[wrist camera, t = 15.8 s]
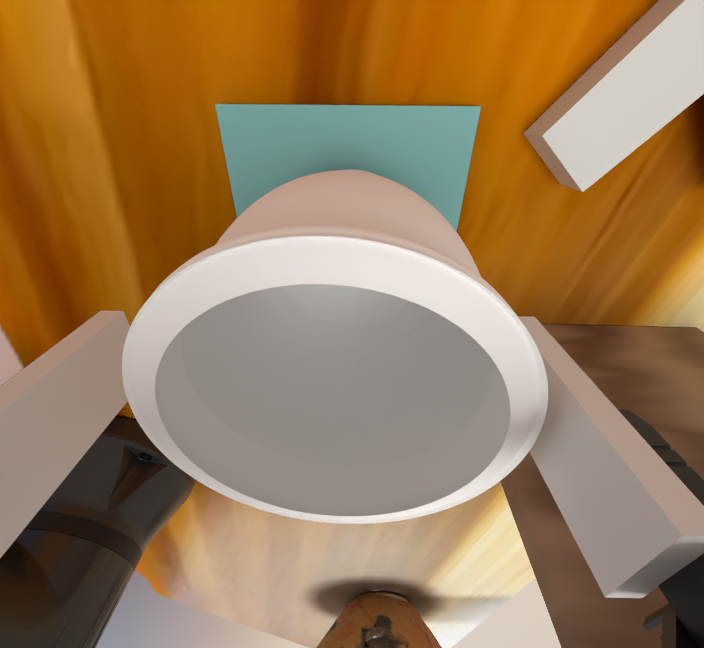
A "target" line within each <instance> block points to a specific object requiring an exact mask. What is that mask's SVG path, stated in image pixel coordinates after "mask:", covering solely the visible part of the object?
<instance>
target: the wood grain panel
mask: <svg viewBox="0 0 704 648" xmlns="http://www.w3.org/2000/svg"><path fill="white" fill-rule="evenodd" d="M541 325H542V326H543V327H544V328H545V329H546V330H547V331H548V332H549V333H550V335H551V336H552V337H553V338H554V339H555V340H556V341H557V342H558V344H559V345H560V346H561V347H562V348H563V349H564V350H565V351H566V353H567V354H568V355H569V356H570V357H571V358H572V359H573V360H574V361H575V363H576V364H577V365H578V366H579V367H580V368H581V369H582V370H583V372H584V373H585V374H586V375H587V376H588V377H589V378H590V379H591V380H592V382H593V383H594V384H595V385H596V386H597V387H598V388H599V389H600V391H601V392H602V393H603V394H604V395H605V396H606V397H607V398H608V399H609V401H610V402H611V403H612V404H613V405H614V406H615V407H616V408H617V410H629V411H631V412H632V413H634V414H635V415H637V416H638V417H639V418H641V419H642V420H644V421H645V422H647V423H648V424H649V425H651V426H652V427H653V428H654V429H655V430H656V431H657V432H658V433H659V434H660V435H661V436H662V437H663V438H664V439H665V440H666V441H667V442H668V444H669V445H670V448H671V449H672V450H675V451H676V452H677V453H678V454H679V455H680V456H681V457H682V458H683V459H684V460H685V461H686V462H687V463H686V464H687V466H688V467H691V468H692V469H693V470H694V471H695V472H696V473H697V474H698V475H699V476H700V477H701V478H702V479H703V480H704V332H702V331H701V330H699V329H698V328H683V327H644V326H605V325H566V324H541ZM501 484H502V487H503V489H504V492H505V495H506V498H507V500H508V503H509V506H510V508H511V511H512V514H513V517H514V519H515V522H516V525H517V528H518V530H519V533H520V536H521V538H522V541H523V544H524V547H525V549H526V552H527V555H528V557H529V560H530V563H531V566H532V568H533V571H534V574H535V576H536V579H537V582H538V584H539V587H540V590H541V593H542V595H543V598H544V601H545V604H546V606H547V609H548V612H549V615H550V617H551V620H552V623H553V625H554V628H555V631H556V634H557V636H558V639H559V642H560V644H561V647H562V648H662V640H661V639H660V636H661V635H662V624H661V625H659V626H658V627H656V628H654V629H652V630H651V631H648V630H647V629H646V628H644V627H643V624H644V621H645V619H646V617H647V616H649V615H650V614H652V613H654V612H655V611H657V610H658V609H660V608H662V607H663V606H665V605H666V604H668V603H669V602H668V601H667V599H666V598H665V596H664V595H663V593H662V591H661V590H660V588H659V587H657V588H656V589H655V590H653V591H652V592H650V593H649V594H647V595H646V596H644V597H643V598H607V597H605V596H604V595H603V593H602V591H601V589H600V587H599V585H598V583H597V581H596V579H595V577H594V575H593V573H592V571H591V569H590V568H589V566H588V564H587V562H586V560H585V558H584V556H583V554H582V552H581V550H580V548H579V546H578V544H577V542H576V540H575V539H574V537H573V535H572V533H571V531H570V529H569V527H568V525H567V523H566V521H565V519H564V517H563V515H562V513H561V511H560V510H559V508H558V506H557V504H556V502H555V500H554V498H553V496H552V494H551V492H550V490H549V488H548V486H547V484H546V482H545V481H544V479H543V477H542V475H541V473H540V471H539V469H538V467H537V465H536V463H535V461H534V459H533V457H532V455H531V454H530V452H528V453H527V455H526V456H525V457H524V459H523V460H522V461H521V462H520V463H519V464H518V465H517V466H516V467H515V468H514V469H513V470H512V471H511V472H510V473H509V474H508V475H507V476H506V477H504V478H503V479H502V480H501Z"/></svg>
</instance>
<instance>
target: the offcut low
mask: <svg viewBox="0 0 704 648" xmlns="http://www.w3.org/2000/svg"><path fill="white" fill-rule="evenodd" d="M703 94H704V0H659V1H658V2H657V3H656V4H655V5H654V6H653V7H651V8H650V9H649V10H648V11H647V12H646V13H645V14H644V15H643V16H642V17H641V18H640V19H639V20H638V21H637V22H636V23H635V24H634V25H633V26H632V27H631V28H630V29H629V30H628V31H627V32H626V33H625V34H624V35H623V36H622V37H621V38H620V39H619V40H618V41H617V42H616V43H615V44H614V45H613V46H612V47H611V48H610V49H609V50H608V51H607V52H606V53H605V54H604V55H603V56H602V57H601V58H600V59H598V60H597V61H596V62H595V63H594V64H593V65H592V66H591V67H590V68H589V69H588V70H587V71H586V72H585V73H584V74H583V75H582V76H581V77H580V78H579V79H578V80H577V81H576V82H575V83H574V84H573V85H572V86H571V87H570V88H569V89H568V90H567V91H566V92H565V93H564V94H563V95H562V96H561V97H560V98H559V99H558V100H557V101H556V102H555V103H554V104H553V105H552V106H551V107H550V108H549V109H548V110H547V111H546V112H544V113H543V114H542V115H541V116H540V117H539V118H538V119H537V120H536V121H535V122H534V123H533V124H532V125H531V126H530V127H529V128H528V129H527V130H526V131H525V132H524V133H523V134H524V136H525V137H526V138H527V140H528V141H529V142H530V144H531V145H532V146H533V148H534V149H535V151H536V152H537V153H538V155H539V156H540V157H541V159H542V160H543V161H544V163H545V164H546V166H547V167H548V168H549V170H550V171H551V172H552V174H553V175H554V176H555V178H556V179H557V180H558V182H559V183H560V184H561V185H564V186H566V187H569V188H572V189H575V190H578V191H580V192H584V191H585V190H586V189H587V188H589V187H590V186H591V185H592V184H593V183H595V182H596V181H597V180H598V179H600V178H601V177H602V176H603V175H605V174H606V173H607V172H608V171H609V170H611V169H612V168H613V167H614V166H616V165H617V164H618V163H619V162H621V161H622V160H623V159H624V158H625V157H627V156H628V155H629V154H630V153H632V152H633V151H634V150H635V149H637V148H638V147H639V146H640V145H641V144H643V143H644V142H645V141H646V140H648V139H649V138H650V137H651V136H652V135H654V134H655V133H656V132H657V131H659V130H660V129H661V128H662V127H664V126H665V125H666V124H667V123H668V122H670V121H671V120H672V119H673V118H675V117H676V116H677V115H678V114H680V113H681V112H682V111H683V110H684V109H686V108H687V107H688V106H689V105H691V104H692V103H693V102H694V101H695V100H697V99H698V98H699V97H700V96H702V95H703Z"/></svg>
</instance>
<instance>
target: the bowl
mask: <svg viewBox="0 0 704 648" xmlns="http://www.w3.org/2000/svg"><path fill="white" fill-rule="evenodd" d="M317 648H441V646H440V645H439V643H438V641H437V640H436V638H435V637H434V635H433V634H432V632H431V630H430V629H429V628H428V627H427V625H426V624H425V623H424V621H423V620H422V619H421V617H420V616H419V613H418V612H417V610H416V609H415V608H414V607H413V606H412V605H411V603H410V602H409V601H407V600H406V599H405V598H404V597H402V596H399V595H397V594H393V593H387V592H376V593H372V592H370V593H365V594H362V595H360V596H358V597H357V598H356V599H355V600H352V601H351V602H350V603H349V605H348V606H347V607H346V608H345V609H344V610H343V612H342V613H341V614H340V616H339V617H338V618H337V620H336V621H335V622H334V624H333V625H332V627H331V628H330V630H329V631H328V632H327V634H326V635H325V637H324V638H323V639H322V641H321V642H320V644H319V645H318V646H317Z"/></svg>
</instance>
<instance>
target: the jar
mask: <svg viewBox="0 0 704 648" xmlns="http://www.w3.org/2000/svg"><path fill="white" fill-rule="evenodd" d="M122 378H123V384H124V389H125V393H126V397H127V400H128V402H129V405H130V407H131V410H132V412H133V414H134V416H135V418H136V420H137V421H138V423H139V425H140V426H141V428H142V429H143V431H144V432H145V434H146V435H147V436H148V438H149V439H150V440H151V441H152V442H153V444H154V445H155V446H156V447H157V448H158V449H159V450H160V451H161V452H162V453H163V454H164V455H165V456H166V457H167V458H168V459H169V460H170V461H171V462H173V463H174V464H175V465H176V466H177V467H179V468H180V469H181V470H183V471H184V472H185V473H187V474H188V475H190V476H191V477H192V478H194V479H196V480H197V481H199V482H200V483H202V484H204V485H205V486H207V487H209V488H211V489H213V490H214V491H216V492H218V493H220V494H222V495H225V496H227V497H229V498H231V499H233V500H236V501H238V502H241V503H243V504H246V505H249V506H252V507H254V508H257V509H261V510H264V511H267V512H271V513H275V514H278V515H283V516H287V517H292V518H297V519H303V520H309V521H317V522H326V523H341V524H368V523H383V522H392V521H399V520H406V519H411V518H416V517H420V516H425V515H429V514H432V513H436V512H439V511H442V510H445V509H448V508H451V507H453V506H456V505H458V504H461V503H463V502H465V501H467V500H469V499H471V498H473V497H475V496H477V495H479V494H481V493H483V492H484V491H486V490H488V489H489V488H491V487H492V486H494V485H495V484H497V483H498V482H499V481H501V480H502V479H503V478H504V477H506V476H507V475H508V474H509V473H510V472H511V471H512V470H513V469H514V468H515V467H516V466H517V465H518V464H519V463H520V462H521V461H522V460H523V459H524V457H525V456H526V455H527V453H528V452H529V451H530V449H531V448H532V446H533V445H534V443H535V441H536V439H537V437H538V435H539V433H540V431H541V428H542V426H543V423H544V420H545V416H546V411H547V405H548V381H547V375H546V370H545V366H544V363H543V360H542V357H541V354H540V352H539V350H538V347H537V345H536V343H535V342H534V340H533V338H532V336H531V335H530V333H529V332H528V330H527V329H526V327H525V326H524V324H523V323H522V322H521V321H520V319H519V318H518V316H517V315H516V314H515V312H514V311H513V310H512V308H511V307H510V306H509V305H508V303H507V302H506V301H505V300H504V299H503V298H502V297H501V295H500V294H499V293H498V292H497V291H496V290H495V289H494V288H493V287H492V286H491V285H490V284H488V283H487V282H486V281H485V280H484V279H483V278H481V276H480V274H479V271H478V269H477V267H476V265H475V262H474V260H473V258H472V256H471V255H470V253H469V251H468V249H467V247H466V246H465V244H464V243H463V241H462V239H461V238H460V237H459V235H458V234H457V232H456V231H455V230H454V228H453V227H452V226H451V225H450V223H449V222H448V221H447V220H446V219H445V218H444V217H443V216H442V214H441V213H440V212H439V211H437V210H436V209H435V208H434V207H433V206H432V205H431V204H430V203H429V202H427V201H426V200H425V199H423V198H422V197H421V196H419V195H418V194H416V193H415V192H413V191H412V190H410V189H408V188H407V187H405V186H403V185H401V184H399V183H397V182H395V181H392V180H390V179H387V178H385V177H382V176H379V175H377V174H374V173H371V172H367V171H363V170H354V169H347V170H338V171H326V172H320V173H315V174H310V175H307V176H303V177H300V178H297V179H295V180H292V181H290V182H287V183H285V184H283V185H281V186H279V187H277V188H275V189H274V190H272V191H270V192H269V193H267V194H265V195H264V196H263V197H261V198H260V199H258V200H257V201H256V202H254V203H253V204H252V205H251V206H250V207H248V208H247V209H246V210H245V211H244V212H243V213H242V214H241V215H240V216H239V217H238V218H237V219H236V220H235V221H234V222H233V223H232V224H231V225H230V227H229V228H228V229H227V230H226V231H225V233H224V234H223V235H222V236H221V238H220V239H219V241H218V242H217V243H216V245H214V246H212V247H210V248H208V249H206V250H204V251H202V252H201V253H199V254H197V255H196V256H194V257H192V258H191V259H189V260H188V261H187V262H185V263H184V264H183V265H181V266H180V267H179V268H177V269H176V270H175V271H174V272H173V273H171V274H170V275H169V276H168V277H167V278H166V279H165V280H164V281H163V282H162V283H161V284H160V285H159V286H158V287H157V289H156V290H155V291H154V292H153V294H152V295H151V296H150V298H149V299H148V300H147V301H146V302H145V304H144V305H143V306H142V308H141V309H140V310H139V312H138V314H137V315H136V317H135V319H134V320H133V322H132V324H131V327H130V329H129V331H128V334H127V337H126V340H125V344H124V349H123V355H122Z"/></svg>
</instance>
